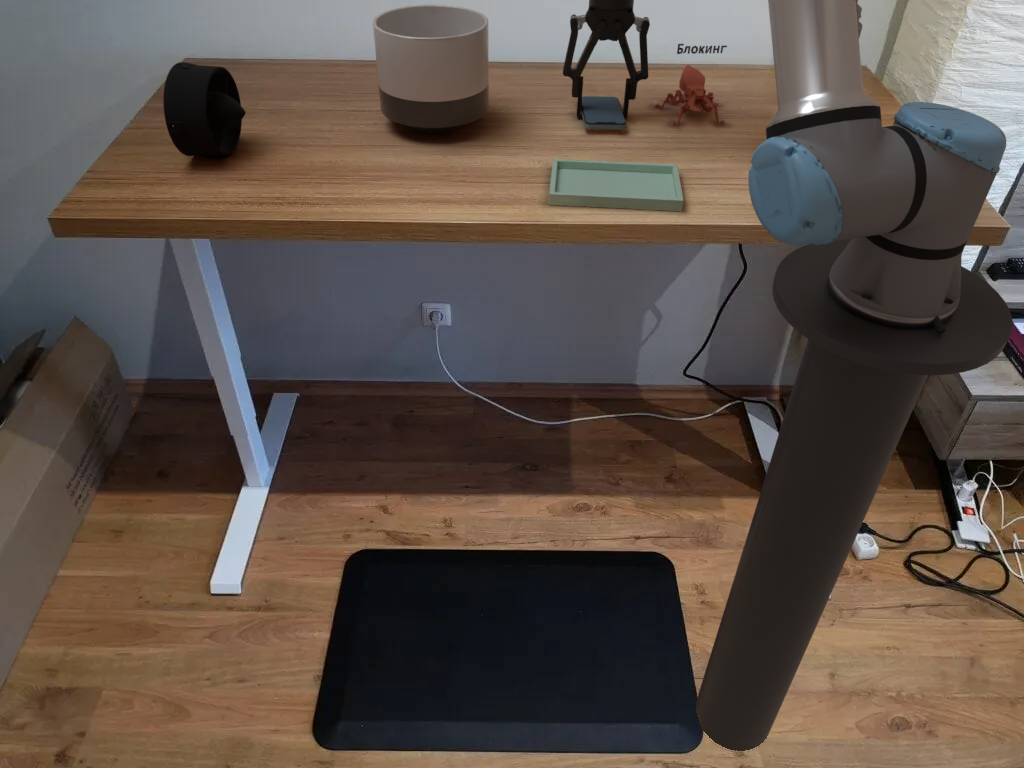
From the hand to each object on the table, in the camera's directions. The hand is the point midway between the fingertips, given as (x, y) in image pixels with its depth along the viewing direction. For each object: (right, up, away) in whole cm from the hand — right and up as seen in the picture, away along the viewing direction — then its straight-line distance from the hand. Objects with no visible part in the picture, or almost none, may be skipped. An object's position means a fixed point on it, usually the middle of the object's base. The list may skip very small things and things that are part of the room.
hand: (601, 115), depth 148 cm
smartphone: (0, -1, 0) cm, 1 cm away
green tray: (0, -19, -22) cm, 29 cm away
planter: (-30, -3, -2) cm, 31 cm away
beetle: (+17, 0, +2) cm, 17 cm away
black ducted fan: (-65, -11, -14) cm, 67 cm away
